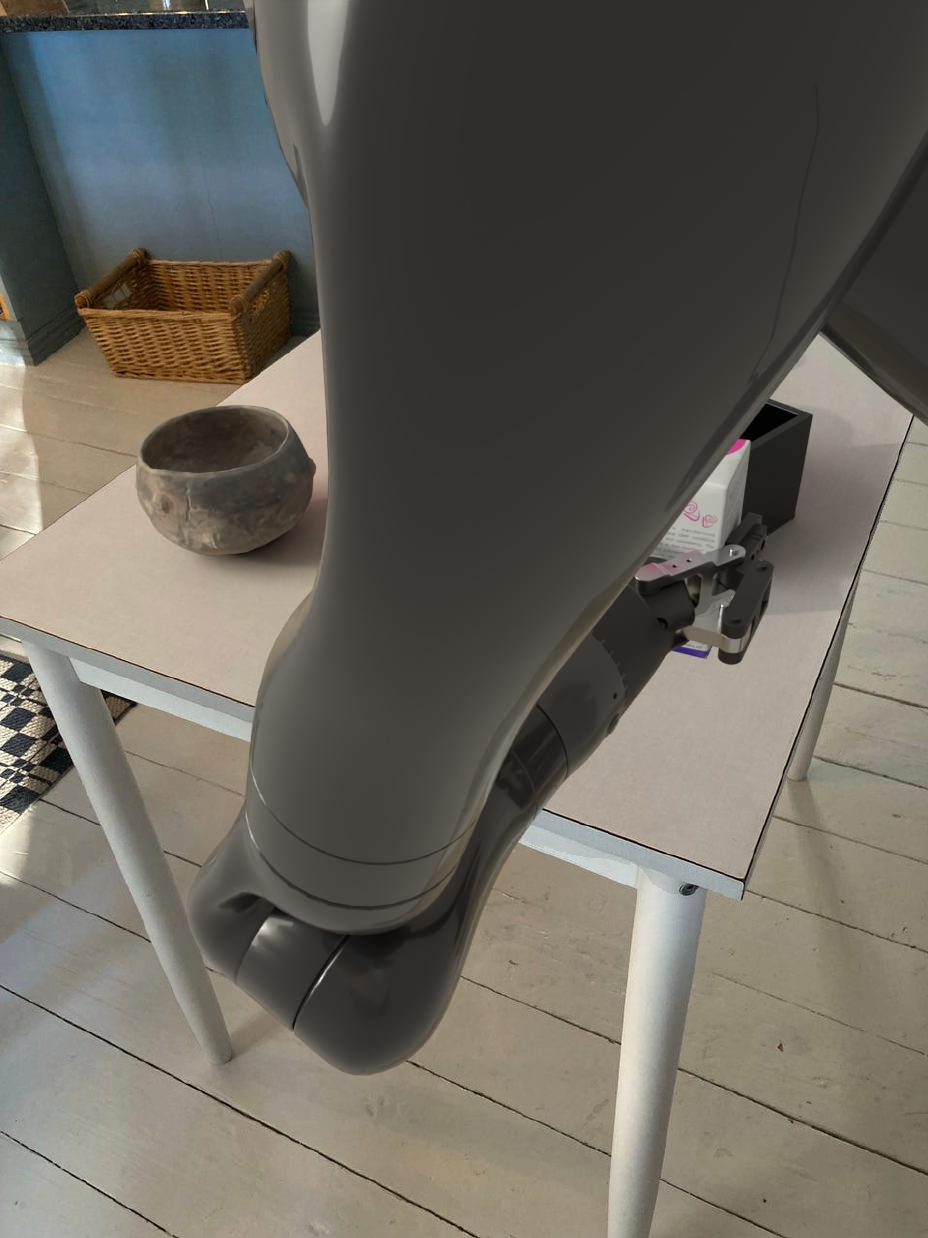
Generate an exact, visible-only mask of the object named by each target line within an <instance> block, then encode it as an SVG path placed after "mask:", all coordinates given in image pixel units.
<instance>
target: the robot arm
mask: <svg viewBox="0 0 928 1238" xmlns="http://www.w3.org/2000/svg"><path fill="white" fill-rule="evenodd" d="M240 4H241V6H242V9H243V11H244V15H245V17H246V21H247V24H248V28H249V33H250V37H251V41H252V46H253V49H254V55H255V58H256V62H257V70H258V74H259V77H260V82H261V86H262V92H263V97H264V101H265V102H264V103H265V105H266V108H267V110H268V115H269V118H270V123H271V127H272V131H273V134H274V137H275V140H276V143H277V146H278V148H279V150H280V153H281V155H282V158H283V160H284V162H285V164H286V166H287V168H288V171H289V174H290V176H291V178H292V180H293V182H294V184H295V187H296V189H297V191H298V193H299V195H300V198H301V201H302V203H303V204H304V206H305V208H306V209H307V213H308V220H309V221H308V222H309V226H310V235H311V244H312V250H313V260H314V273H315V284H316V295H317V305H318V306H317V307H318V316H319V328H320V336H321V353H322V354H321V355H322V370H323V371H322V372H323V385H324V386H323V387H324V402H325V404H324V405H325V421H326V423H325V424H326V447H327V449H326V450H327V451H326V452H327V502H326V503H327V505H326V516H325V527H324V536H323V543H322V549H321V556H320V560H319V566H318V570H317V573H316V576H315V579H314V582H313V586H312V588H311V591H310V592H308V594H307V595H306V596H305V597H304V598H303V600H302V601H301V602H300V603H299V605H298V606H297V607H296V608H295V609H294V611H293V612H292V613H291V614H290V616H289V617H288V619H287V621H286V622H285V624H284V625H283V627H282V628H281V630H280V631H279V633H278V635H277V637H276V638H275V641H274V643H273V645H272V647H271V650H270V651H269V653H268V656H267V660H266V662H265V665H264V668H263V672H262V676H261V678H260V679H261V680H260V684H259V686H258V687H259V688H258V692H257V696H256V699H255V703H254V711H253V717H252V721H251V723H252V724H251V732H250V741H249V742H250V743H249V749H248V751H249V752H248V761H247V771H246V783H245V791H244V792H245V795H244V801H243V804H242V806H241V807H240V810H239V812H238V814H237V815H236V817H235V819H234V821H233V823H232V825H231V827H230V828H229V830H228V832H227V833H226V834H225V836H223V838H222V839H221V840H220V841H219V843H218V844H217V845H216V846H215V847H214V849H213V850H212V851H211V853H210V854H209V855H208V856H207V857H206V859H205V860H204V862H203V863H202V865H201V867H200V869H199V870H198V872H197V874H196V875H195V878H194V879H193V881H192V883H191V886H190V888H189V891H188V896H187V900H186V903H185V905H186V908H185V909H186V920H187V923H188V927H189V931H190V933H191V935H192V937H193V939H194V941H195V944H196V945H197V947H198V949H199V950H200V951H201V953H202V954H203V955H204V957H205V958H206V959H207V961H209V963H210V964H212V966H213V967H214V968H215V969H216V970H218V971H219V972H220V973H221V974H222V975H224V977H226V978H227V979H228V980H230V982H231V983H233V985H235V986H236V987H238V988H239V989H240V990H241V991H242V992H244V994H246V995H247V996H248V997H249V998H251V1000H252V1001H254V1002H255V1003H257V1004H258V1005H259V1006H260V1007H261V1008H262V1009H264V1010H265V1011H266V1012H267V1013H268V1014H269V1015H271V1016H272V1017H273V1018H274V1019H276V1021H278V1022H279V1023H280V1024H281V1025H283V1026H284V1028H286V1029H288V1031H290V1032H291V1033H293V1035H294V1036H295V1037H296V1038H298V1039H299V1040H300V1041H301V1042H302V1043H304V1045H305V1046H307V1047H308V1048H309V1049H310V1050H311V1051H312V1052H314V1053H315V1054H316V1055H317V1056H318V1057H320V1058H321V1059H322V1060H323V1061H324V1062H326V1063H327V1064H328V1065H330V1066H332V1067H333V1068H335V1069H336V1070H338V1071H340V1072H341V1073H344V1074H347V1075H351V1076H354V1077H356V1076H359V1077H361V1076H364V1077H365V1076H366V1077H367V1076H373V1075H377V1074H381V1073H385V1072H387V1071H389V1070H392V1069H394V1068H396V1067H398V1066H400V1065H402V1064H404V1063H405V1062H407V1061H409V1059H411V1058H413V1057H414V1056H415V1055H416V1054H417V1053H418V1052H419V1051H420V1050H421V1049H422V1048H423V1047H424V1046H425V1045H426V1044H427V1043H428V1041H429V1040H431V1038H432V1036H433V1035H434V1034H435V1032H436V1031H437V1029H438V1027H439V1026H440V1025H441V1022H442V1021H443V1019H444V1018H445V1015H446V1013H447V1010H448V1009H449V1007H450V1005H451V1003H452V1000H453V997H454V995H455V993H456V990H457V987H458V985H459V982H460V978H461V977H462V973H463V970H464V967H465V964H466V961H467V958H468V955H469V954H470V953H469V952H470V949H471V946H472V943H473V940H474V937H475V936H476V935H475V934H476V931H477V928H478V926H479V922H480V920H481V917H482V914H483V912H484V909H485V907H486V905H487V902H488V900H489V897H490V895H491V893H492V890H493V888H494V886H495V884H496V882H497V880H498V877H499V876H500V874H501V872H502V870H503V868H504V866H505V864H506V863H507V861H508V859H509V858H510V856H511V854H512V853H513V851H514V849H515V847H516V846H517V845H518V843H519V842H520V840H522V838H523V836H524V835H525V833H526V832H527V830H528V829H529V827H531V825H532V824H533V822H534V821H535V819H536V818H537V817H538V816H539V814H540V813H541V812H542V811H543V809H544V808H545V807H546V805H548V803H549V802H550V800H551V799H552V798H553V796H554V795H555V794H556V793H557V791H558V790H559V789H560V787H561V786H562V785H563V784H564V783H565V782H566V780H568V779H569V778H570V777H571V776H572V775H573V774H574V773H575V772H576V771H578V769H580V768H581V767H582V766H583V765H584V764H585V763H586V762H587V761H588V760H589V759H590V758H591V756H592V755H593V754H594V753H595V752H596V750H597V749H599V747H600V746H601V744H602V743H603V741H604V740H605V739H607V738H608V737H610V736H611V735H612V734H613V732H614V731H615V729H616V728H617V727H618V725H619V722H620V720H621V718H622V717H623V716H624V714H625V713H626V712H627V711H628V709H629V708H630V707H631V705H632V704H633V703H634V701H635V700H636V699H637V698H638V696H639V695H640V694H641V692H642V691H643V689H644V688H645V687H646V685H647V684H648V683H650V681H651V680H652V678H653V676H655V674H656V673H657V672H658V669H660V667H661V665H662V663H663V662H664V660H665V659H666V657H667V656H668V654H669V653H671V652H673V651H672V650H674V649H676V648H678V647H681V646H683V645H685V644H686V643H688V642H689V641H690V640H691V641H695V642H698V643H702V644H706V645H709V646H712V648H713V647H714V648H717V649H718V650H717V659H718V660H719V662H721V663H723V664H724V665H729V666H732V665H733V666H734V665H738V664H740V663H741V662H742V661H743V658H744V656H745V655H746V654H747V653H746V652H747V650H748V649H749V646H750V644H751V642H752V640H753V638H754V636H755V634H756V632H757V630H758V628H759V625H760V623H761V622H762V619H763V617H764V615H765V613H766V611H767V609H768V607H769V603H770V596H771V591H772V590H771V589H772V583H773V578H774V571H775V565H774V564H773V563H771V562H770V561H768V560H764V559H760V558H761V557H762V556H763V554H764V553H765V547H766V542H767V541H766V540H767V536H768V535H767V526H765V525H761V524H762V516H761V515H757V514H754V513H750V512H749V513H748V514H747V515H746V517H745V518H744V519H743V520H742V522H741V523H740V524H739V525H738V526H737V528H736V529H735V530H734V531H733V533H732V534H731V535H730V536H729V538H728V539H727V540H726V542H725V546H724V547H722V548H719V549H716V550H713V551H711V552H708V553H706V554H702V553H701V552H700V551H698V550H694V551H691V552H689V553H686V554H684V555H681V556H678V557H676V558H673V559H671V560H666V559H663V558H658V557H651V556H650V555H651V554H652V552H653V551H654V550H655V548H656V547H657V546H658V544H659V543H660V542H661V540H662V539H663V538H664V536H665V535H666V534H667V532H668V531H669V529H670V528H671V527H672V525H673V524H674V523H675V521H676V520H677V519H678V517H679V516H680V515H681V513H682V512H683V511H684V509H685V508H686V506H687V505H688V504H689V502H690V501H691V500H692V499H693V497H694V496H695V495H696V493H697V492H698V491H699V489H700V488H701V487H702V486H703V484H704V483H705V482H706V480H707V479H708V478H709V476H710V475H711V474H712V473H713V471H714V470H715V469H716V467H717V466H718V465H719V464H720V462H721V461H722V460H723V458H724V457H725V456H726V454H727V453H728V452H729V451H730V449H731V448H732V447H733V445H734V444H735V443H736V441H737V440H738V439H739V438H740V436H741V435H742V434H743V432H744V431H745V430H746V428H747V427H748V426H749V425H750V423H751V422H752V421H753V419H754V418H755V417H756V415H757V414H758V413H759V412H760V410H761V409H762V408H763V406H764V405H765V404H766V402H767V401H768V400H769V399H771V397H772V396H773V395H774V393H775V392H776V391H777V390H778V388H779V387H780V386H781V384H782V383H783V382H784V380H785V379H786V378H787V376H788V375H789V374H790V372H791V371H792V370H793V368H794V367H795V366H796V364H797V363H799V361H800V359H801V358H802V357H803V355H804V354H805V353H806V352H807V350H808V349H809V347H810V346H811V344H812V343H813V342H814V341H815V339H816V337H817V336H818V335H819V336H820V337H821V338H822V339H824V340H825V342H827V343H828V344H829V345H830V346H831V347H833V348H834V349H835V350H836V351H837V352H838V353H840V354H841V355H842V356H843V357H844V358H846V359H847V360H848V361H849V362H850V363H851V364H852V365H854V366H855V367H856V368H857V369H858V370H859V371H861V373H863V374H864V375H865V376H866V377H867V378H868V379H869V380H871V381H872V382H873V383H874V384H875V385H876V386H878V388H880V389H881V390H882V391H883V392H885V394H887V395H888V396H889V397H890V398H891V399H892V400H894V401H895V402H896V403H898V404H899V405H900V406H901V407H903V408H904V409H905V410H906V411H908V412H909V413H910V414H911V415H912V416H914V417H915V418H917V419H918V420H919V421H920V422H921V423H923V424H924V425H925V426H926V427H928V0H240ZM766 535H767V536H766ZM718 572H720V573H719V577H718V578H714V579H713V577H714V575H715V574H716V573H718ZM685 578H687V581H686V583H685V580H684V579H685ZM730 595H731V596H732V595H733V596H732V597H731V598H732V599H731V601H730V603H729V602H727V601H723V602H721V603H720V607H719V608H718V609H715V610H714V611H713V612H712V613H711V614H709V615H707V616H698V615H701V614H703V613H705V612H706V611H707V610H708V609H709V607H710V605H711V604H712V603H713V602H715V601H718V600H720V599H723V598H725V597H727V596H730Z"/></svg>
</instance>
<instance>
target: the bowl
mask: <svg viewBox="0 0 928 1238" xmlns="http://www.w3.org/2000/svg"><path fill="white" fill-rule="evenodd" d="M135 464H136V465H135V484H134V488H135V490H136V495H137V500H138V503H139V504H140V507H141V508H142V510H143V512H144V513H145V515H146V516H147V517H148V518H149V521H150V522H151V524H152V526H153V528H155V530H156V532H158V533H159V534H160V535H162V536H163V537H164V538H165V539H167V540H168V541H170V542H171V543H173V544H175V545H177V546H178V547H179V548H181V549H183V550H186V551H189V552H191V553H195V554H198V555H204V556H227V555H238V554H243V553H249V552H251V551H253V550H254V549H258V548H260V547H263V546H265V545H267V544H269V543H270V542H272V541H274V540H276V539H278V538H279V537H280V536H282V535H284V534H285V533H287V532H288V531H290V530H291V529H293V528H294V527H295V526H297V524H298V523H299V521H300V520H301V519H302V518H303V515H304V513H305V512H306V511H307V509H308V508H309V505H310V503H311V500H312V498H313V497H312V496H313V492H314V491H313V490H314V477H315V476H316V473H317V465H316V463H315V461H314V459H313V458H311V457H309V454H308V451H307V450H306V448H305V446H304V444H303V442H302V440H301V439H300V436H299V434H298V432H296V430H295V428H294V427H293V426H292V424H291V423H290V421H289V420H288V419H286V417H285V416H284V415H282V414H281V413H280V412H277V411H275V410H273V409H271V408H268V407H263V406H257V405H248V404H231V405H230V404H229V405H217V406H210V407H204V408H200V409H196V410H191V411H188V412H185V413H182V414H178V415H176V416H173V417H171V418H169V419H167V420H165V421H163V422H161V423H160V424H159V425H157V426H156V427H154V428H153V429H152V430H151V431H149V433H148V434H147V436H145V438H144V439H143V440H142V442H141V444H140V446H139V449H138V452H137V457H136V463H135Z"/></svg>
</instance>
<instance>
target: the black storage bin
mask: <svg viewBox="0 0 928 1238" xmlns="http://www.w3.org/2000/svg"><path fill="white" fill-rule="evenodd" d="M813 418H814V413H811V412H808V411H805V410H802V409H799V408H796V407H793V406H790V405H788V404H786V403H783V402H780V401H778V400H775V399H773V398H770V399H769V400H768V401H767V402H766V404H765V405H764V406H763V408H762V409H761V410H760V412H759V413H758V414H757V415H756V417H755V418H754V419H753V421H752V422H751V423H750V425H749V426H748V427H747V428H746V430H745V431H744V432H743V434H742V435H741V436H740V438H739V439H743V440H750V442H751V444H750V453H749V461H748V468H747V476H746V484H745V490H744V498H743V506H742V514H741V521H740V523H741V522H742V520H743V519H744V518H745V517H746V515H747V514H748V513H749V512H750V513H754V514H757V515H761V516H762V524H761V525H765V526H767V535H766V537H768V536H769V535H770V534H772V533H773V532H775V531H777V530H778V529H779V528H781V527H782V526H784V525H785V524H787V523H788V522H790V521H792V520H793V519H795V517H796V513H797V507H798V501H799V497H800V490H801V485H802V480H803V479H802V478H803V473H804V468H805V463H806V458H807V452H808V447H809V440H810V435H811V429H812V425H813V424H812V423H813Z"/></svg>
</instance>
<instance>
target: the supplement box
mask: <svg viewBox="0 0 928 1238" xmlns="http://www.w3.org/2000/svg"><path fill="white" fill-rule="evenodd" d="M750 444H751V442H750V440H743V439H738V440H737V441H736V443H735V444H734V445H733V447H732V448H731V449H730V451H729V452H728V453H727V454H726V456H725V457H724V458H723V460H722V461H721V462H720V464H719V465H718V466H717V467H716V469H715V470H714V471H713V473H712V474H711V475H710V476H709V478H708V479H707V480H706V482H705V483H704V484H703V486H702V487H701V488H700V489H699V491H698V492H697V493H696V495H695V496H694V497H693V499H692V500H691V501H690V502H689V504H688V505H687V506H686V508H685V509H684V511H683V512H682V513H681V515H680V516H679V517H678V519H677V520H676V521H675V523H674V524H673V525H672V527H671V528H670V529H669V531H668V532H667V534H666V535H665V536H664V538H663V539H662V540H661V542H660V543H659V544H658V546H657V547H656V548H655V550H654V551H653V552H652V554H651V555H650V556H651V557H658V558H663V559H666V560H671V559H673V558H676V557H678V556H681V555H684V554H686V553H689V552H691V551H694V550H698V551H700V552H701V553H702V554H706V553H708V552H711V551H713V550H716V549H719V548H722V547H724V546H725V542H726V540H727V539H728V538H729V536H730V535H731V534H732V533H733V531H734V530H735V529H736V528H737V526H738V525H739V524H740V521H741V514H742V506H743V498H744V490H745V484H746V476H747V468H748V461H749V453H750ZM719 573H720V572H718V573H716V574H715V575H714V577H713V579H714V578H718V577H719ZM684 580H685V583H686V581H687V578H685V579H684ZM731 598H732V595H730V596H727V597H725V598H723V599H720V600H718V601H715V602H713V603H712V604H711V605H710V607H709V609H708V610H707V611H706V612H705V613H703V614H701V615H698V616H707V615H709V614H711V613H712V612H713V611H714V610H715V609H718V608H719V607H720V603H721V602H723V601H727V602H729V603H730V602H731V600H732V599H731ZM712 648H713V646H709V645H706V644H702V643H698V642H695V641H691V640H690V641H689V642H688V643H686V644H685V645H683V646H681V647H678V648H676V649H674V650H672V651H671V652H674V653H679V654H681V655H682V654H683V655H687V656H691V657H695V658H699V659H704V660H707V659H708V657H709V655H710V653H711V650H712Z"/></svg>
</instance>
